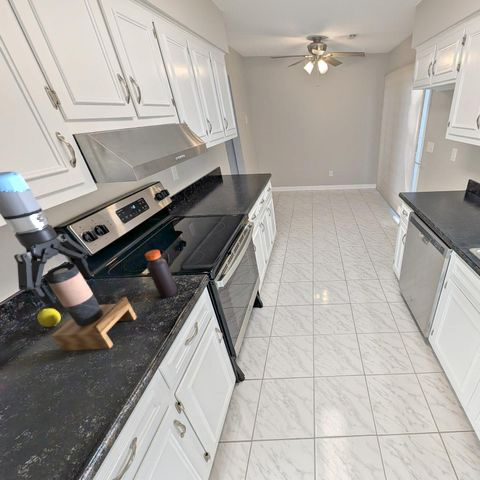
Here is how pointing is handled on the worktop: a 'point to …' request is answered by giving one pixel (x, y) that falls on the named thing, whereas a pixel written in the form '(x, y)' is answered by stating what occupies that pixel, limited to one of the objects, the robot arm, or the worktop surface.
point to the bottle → (160, 274)
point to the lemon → (49, 317)
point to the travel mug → (74, 294)
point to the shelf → (94, 328)
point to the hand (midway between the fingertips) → (70, 288)
